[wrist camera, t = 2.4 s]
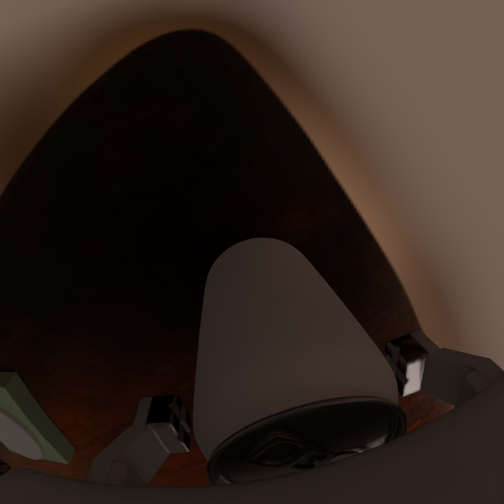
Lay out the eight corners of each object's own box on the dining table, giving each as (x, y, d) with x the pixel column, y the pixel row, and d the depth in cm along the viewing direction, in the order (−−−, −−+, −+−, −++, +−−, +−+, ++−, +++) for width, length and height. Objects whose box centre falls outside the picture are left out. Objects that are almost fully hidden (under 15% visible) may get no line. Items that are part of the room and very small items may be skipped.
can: (270, 348, 19) (314, 513, 8) (185, 302, 17) (151, 485, 6) (332, 272, 18) (453, 411, 6) (246, 212, 16) (303, 340, 5)
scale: (-34, 370, 18) (-47, 386, 15) (16, 371, 18) (1, 391, 15) (16, 438, 21) (8, 454, 18) (75, 447, 21) (68, 468, 19)
